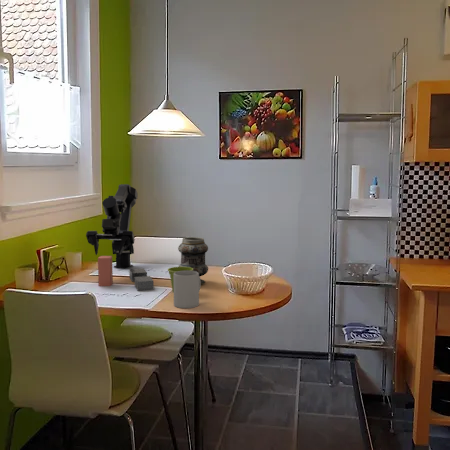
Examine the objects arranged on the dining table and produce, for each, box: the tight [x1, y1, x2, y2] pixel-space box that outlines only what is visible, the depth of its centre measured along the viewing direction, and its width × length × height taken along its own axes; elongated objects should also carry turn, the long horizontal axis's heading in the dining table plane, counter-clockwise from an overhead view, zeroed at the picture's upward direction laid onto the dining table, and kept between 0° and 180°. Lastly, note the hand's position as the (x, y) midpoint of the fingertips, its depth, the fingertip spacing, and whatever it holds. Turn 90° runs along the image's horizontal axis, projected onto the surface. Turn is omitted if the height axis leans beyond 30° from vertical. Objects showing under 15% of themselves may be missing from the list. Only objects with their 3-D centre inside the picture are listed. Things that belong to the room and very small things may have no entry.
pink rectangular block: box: [97, 255, 114, 287], centre depth 203 cm, size 4×4×11 cm
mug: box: [173, 271, 202, 309], centre depth 176 cm, size 12×8×11 cm
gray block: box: [128, 268, 154, 292], centre depth 205 cm, size 23×6×4 cm, turn 18°
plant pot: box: [167, 266, 193, 294], centre depth 192 cm, size 9×9×9 cm
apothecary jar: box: [177, 236, 209, 286], centre depth 205 cm, size 12×12×18 cm
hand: (107, 254), depth 206 cm, fingers open, 9 cm apart
